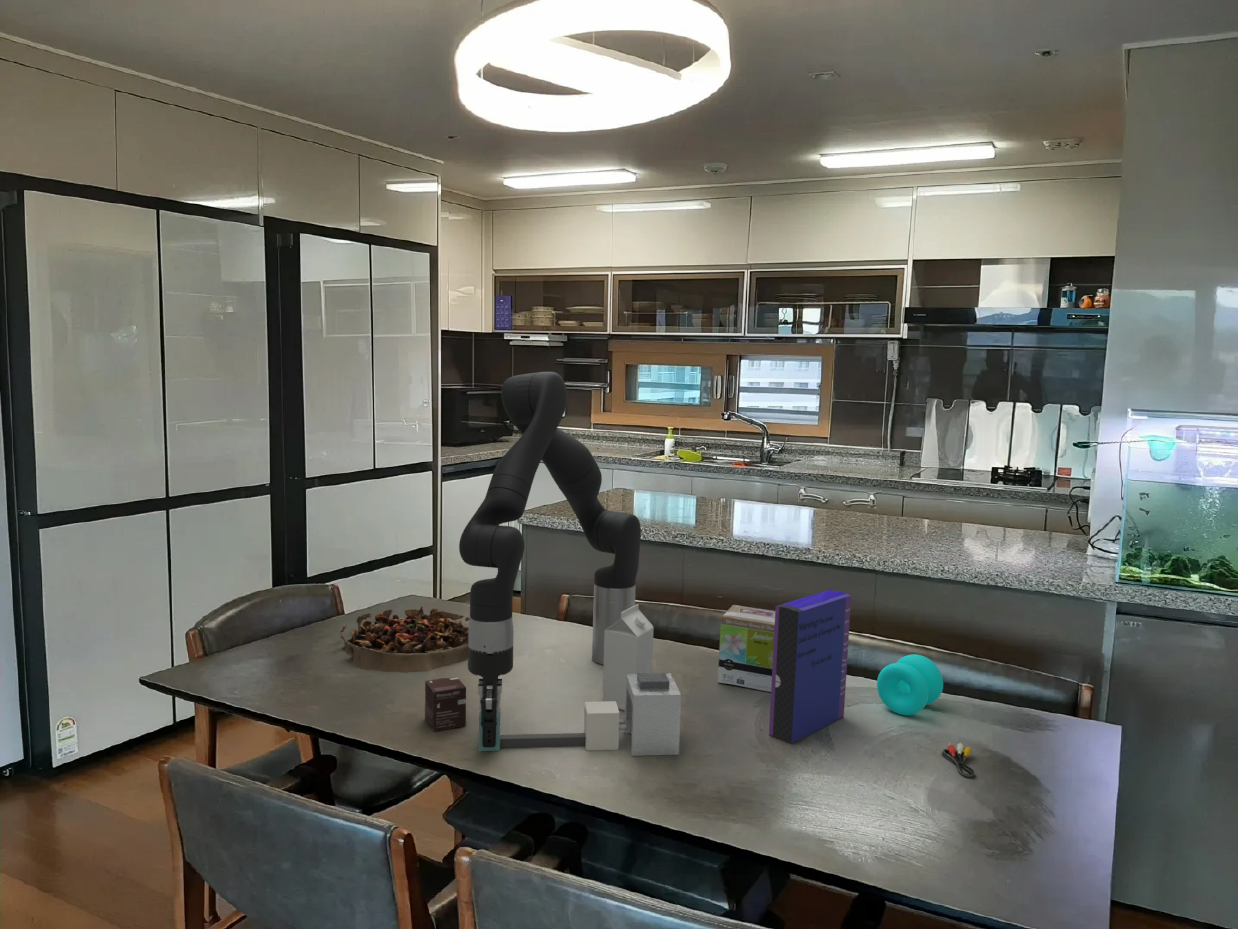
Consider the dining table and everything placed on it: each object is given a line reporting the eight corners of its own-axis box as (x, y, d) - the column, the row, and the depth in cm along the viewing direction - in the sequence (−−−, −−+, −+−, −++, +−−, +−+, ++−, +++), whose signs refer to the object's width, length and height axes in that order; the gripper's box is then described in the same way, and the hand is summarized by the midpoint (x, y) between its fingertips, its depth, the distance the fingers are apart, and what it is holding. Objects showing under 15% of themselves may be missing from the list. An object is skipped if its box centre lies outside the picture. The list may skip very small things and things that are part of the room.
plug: (479, 740, 143) (480, 703, 142) (623, 736, 146) (624, 701, 145) (478, 753, 138) (478, 715, 137) (627, 749, 141) (628, 712, 140)
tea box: (716, 684, 172) (719, 615, 171) (728, 669, 181) (731, 603, 180) (789, 697, 167) (792, 625, 165) (797, 680, 176) (801, 612, 174)
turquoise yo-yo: (943, 709, 163) (947, 660, 162) (922, 724, 155) (926, 672, 154) (895, 694, 169) (898, 647, 168) (872, 708, 162) (875, 658, 161)
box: (432, 732, 146) (433, 692, 145) (424, 719, 151) (424, 680, 150) (466, 726, 148) (467, 687, 148) (456, 714, 154) (457, 675, 153)
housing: (624, 730, 148) (626, 667, 147) (668, 729, 149) (670, 666, 148) (631, 756, 139) (634, 688, 137) (678, 754, 140) (681, 687, 138)
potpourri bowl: (376, 623, 210) (377, 593, 210) (503, 635, 206) (504, 604, 205) (306, 666, 176) (307, 630, 175) (456, 681, 171) (458, 644, 171)
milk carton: (601, 706, 159) (604, 609, 157) (619, 694, 165) (622, 601, 163) (635, 714, 156) (638, 615, 154) (651, 701, 162) (654, 606, 160)
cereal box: (821, 710, 160) (828, 589, 158) (843, 717, 157) (851, 594, 154) (768, 735, 148) (775, 604, 146) (791, 744, 145) (798, 611, 142)
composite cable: (976, 782, 134) (977, 767, 134) (945, 777, 135) (946, 762, 135) (969, 755, 143) (970, 742, 143) (940, 751, 145) (941, 737, 144)
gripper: (470, 629, 145) (469, 724, 147) (465, 657, 131) (464, 761, 133) (513, 629, 146) (512, 723, 148) (513, 656, 132) (511, 760, 134)
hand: (489, 740), depth 141 cm, fingers closed on plug, 3 cm apart
